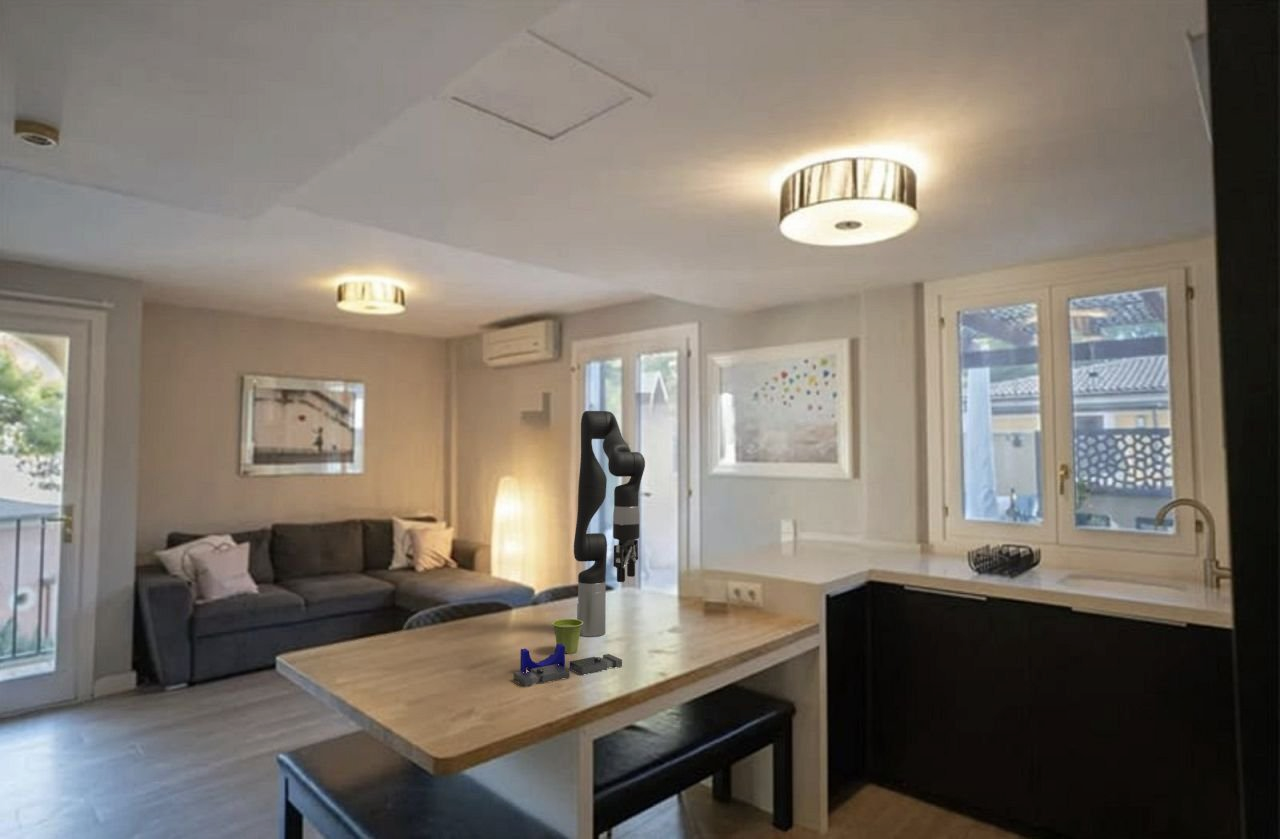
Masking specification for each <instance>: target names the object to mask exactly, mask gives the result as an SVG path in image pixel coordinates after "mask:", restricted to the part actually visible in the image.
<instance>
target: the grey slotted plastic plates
mask: <svg viewBox="0 0 1280 839" xmlns="http://www.w3.org/2000/svg"><path fill="white" fill-rule="evenodd" d="M621 666H622V667H623V659H622V658H620V657H617V656H614V655H612V654H609V653H606V654H602V657H600V656H599V657H598V656H597V657H596V656H591V657H587V658H586V657H585V658H580V659H575V660H571V661H569V669H568V668H565V667H562V666H560V665H558V664H554V665H549V666H544V667H538V668H533V669H531V672H527V673H523V672H522V671H521V670H519V671H514V672H513V681H514V680H515V682H516V681H517V682H516V683H518V682H519V683H520V684H519V683H518V684H519V685H521V684H522V685H523V687H524V686H525V687H524V688H527V687H526V686H528V687H532V686H533V685H534V683H536V684H540V683H539V682H542V683H541V684H545V683H544V682H547V683H549V682H548V681H552V682H554V681H553V680H557V679H562V678H566V679H569V678H570V670H571V669H572V670H571V671H573V670H574V671H573V672H575V671H576V672H575V673H577V672H578V673H577V674H579V673H580V674H579V675H581V674H582V675H581V676H585V675H584V674H586V675H589V674H588V673H590V674H595V673H599V672H598V671H600V672H603V671H602V670H605V671H608V669H610V668H609V667H613V668H615V667H619V668H622V667H621ZM607 668H608V669H607ZM594 672H595V673H594ZM568 677H569V678H568ZM562 680H563V679H562ZM557 681H558V680H557ZM522 685H521V686H522ZM531 685H532V686H531Z"/></svg>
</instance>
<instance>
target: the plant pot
mask: <svg viewBox="0 0 1280 839" xmlns="http://www.w3.org/2000/svg"><path fill="white" fill-rule="evenodd" d="M582 625H583V621H581V620H577V618H576V619H575V618H565V619H563V618H562V619H557V620H554V621H553V622H552V626H553V630H554V633H555V642H556V643H555V644H562V645H564V646H565V654H568V655H571V654H570V653H572V654H575V653H577V652H578V648H579V642H580V641H579V640H580V636H581V635H580V630H581V627H582Z"/></svg>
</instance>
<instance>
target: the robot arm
mask: <svg viewBox="0 0 1280 839" xmlns="http://www.w3.org/2000/svg"><path fill="white" fill-rule="evenodd" d="M621 432H622V431H621V429H620V426H619V424H618V421H617V419H616V416H615V414H614V413H612V412H611V411H608V410H585V411H584V412H583V413H582V415H581V418H580V464H579V465H580V466H579V473H578V474H579V476H578V489H577V493H578V494H577V515H576V523H575V524H576V525H575V534H574V540H573V541H574V542H573V556H574V559H575V561H576V562H581V563H582V562H584V563H585V562H594V563H593V564H592V566H590V567H588V568H587V569H585V570H582V571H581V572H579V573H578V576H577V578H578V579H577V584H578V586H577V588H578V589H577V590H578V591H577V593H578V594H577V602H578V603H577V605H576V606H577V607H576V610H577V612H576V616H577V617H576V619H577V620H581V621H583V625H582V627H581V630H580V636H583V637H600V636H604V635H605V634H606V610H607V609H606V606H607V605H606V603H607V602H606V598H607V597H606V590H607V589H606V583H607V582H606V578H607V577H606V576H607V554H608V541H607V538H606V535H605V534H604V533H603V532H602V533H601V532H600V533H599V532H597V533H593V532H591V533H587V532H588V528H589V526H590V522H591V521H592V519H593V518H594V516H595V515H596V514H597V512H598V511H599V509H600V508H601V506H602V505H603V503H604V501H605V500H606V495H607V481H608V480H607V475H606V472H605V471H604V469H603V467H602V466H601V464H600V462H599V461H598V459H597V457H596V454H595V451H594V449H593V440H603V442H602V449H603V451H604V452H603V453H604V454H605V456H606V457H607V460H608V463H607V464H608V465H607V467H608V472H609V474H611V475H613V476H614V477H618V478H620V477H630V478H629V480H628V482H627V483H623V484H620V485H617V486H615V487H614V493H613V498H614V499H613V501H614V502H613V505H614V506H613V513H612V516H613V517H612V520H613V521H612V527H613V528H612V537H613V539H615V540H618V544H614V545H613V559H612V560H613V562H612V563H613V565H612V566H613V567H614V568H615V569H616V582H618V583H625V581H626V576H627V577H631V578H633V577H636V564H637V561H638V560H639V540H638V539H639V538H640V507H639V504H640V503H639V502H640V501H639V500H640V499H639V498H640V496H639V494H640V486H641V483H642V479H643V474H644V472H645V467H646V459H645V457H644V455H643V454H642V453H640V452H638V451H631V448H630V447H629V444H627V442H626V440H624V438H623V436H622V433H621Z"/></svg>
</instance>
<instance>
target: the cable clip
mask: <svg viewBox="0 0 1280 839" xmlns="http://www.w3.org/2000/svg"><path fill="white" fill-rule="evenodd" d="M555 644H556V645H555V650H554V653H552V654H550V655H548V656H547V657H546V658H545V659H543V660H540V661H538V662H535V661H534V660H532V657H531V655H530V650H528V649H527V648H520V666H519V668H520V670H519V671H521V672H524V673H526V669H527V670H528V671H529V672H531V669H533V668H538V667H544V666H549V665H554V664H559V665H560V666H562V667H564V666H565V667H566V653H565V646H564V645H562V644H557V643H555ZM565 667H564V668H565Z"/></svg>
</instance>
